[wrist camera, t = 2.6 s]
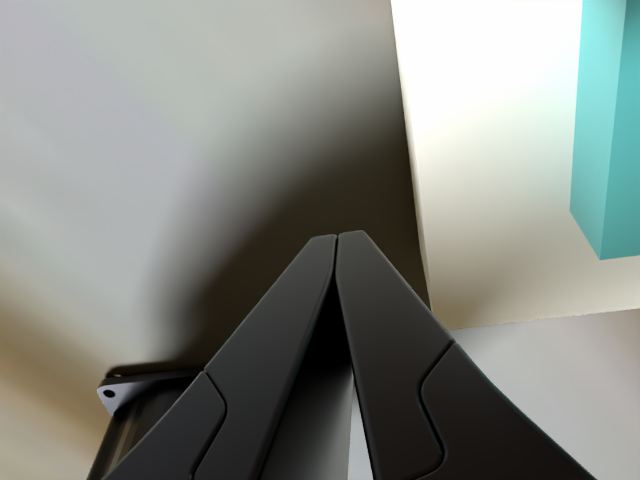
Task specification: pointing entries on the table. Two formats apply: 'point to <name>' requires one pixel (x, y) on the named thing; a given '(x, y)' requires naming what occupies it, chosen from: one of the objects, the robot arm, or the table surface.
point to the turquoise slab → (608, 129)
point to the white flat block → (499, 162)
